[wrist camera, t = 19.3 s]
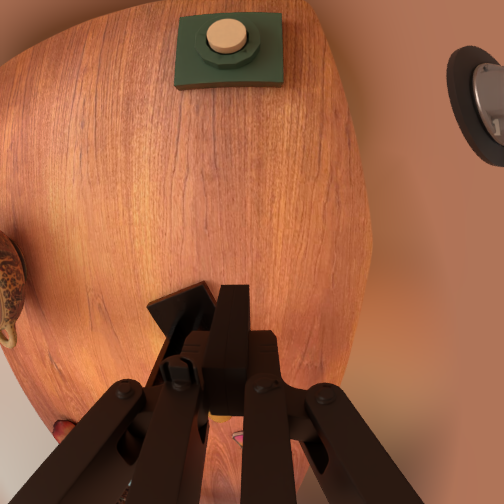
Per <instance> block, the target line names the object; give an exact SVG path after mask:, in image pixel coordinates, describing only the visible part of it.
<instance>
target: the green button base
mask: <svg viewBox="0 0 504 504" xmlns="http://www.w3.org/2000/svg"><path fill="white" fill-rule="evenodd" d="M222 19H234V20H237V21H239V22H241V23H242V24H243V25H244V26H245V28H246V43H245V45H244V46H243V47H242V48H241V49H240V50H238V51H237V52H234V53H230V54H222V53H219V52H216V51H215V50H213V49H212V48H211V46H210V44H209V42H208V39H207V31H208V29H209V27H210V26H211V25H212V24H213V23H215V22H216V21H219V20H222ZM283 82H284V80H283V37H282V14H281V13H267V12H234V13H215V14H203V15H194V16H186V17H180V20H179V28H178V38H177V49H176V61H175V76H174V86H175V87H176V88H177V89H178V90H188V89H200V88H216V87H282V84H283Z"/></svg>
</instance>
